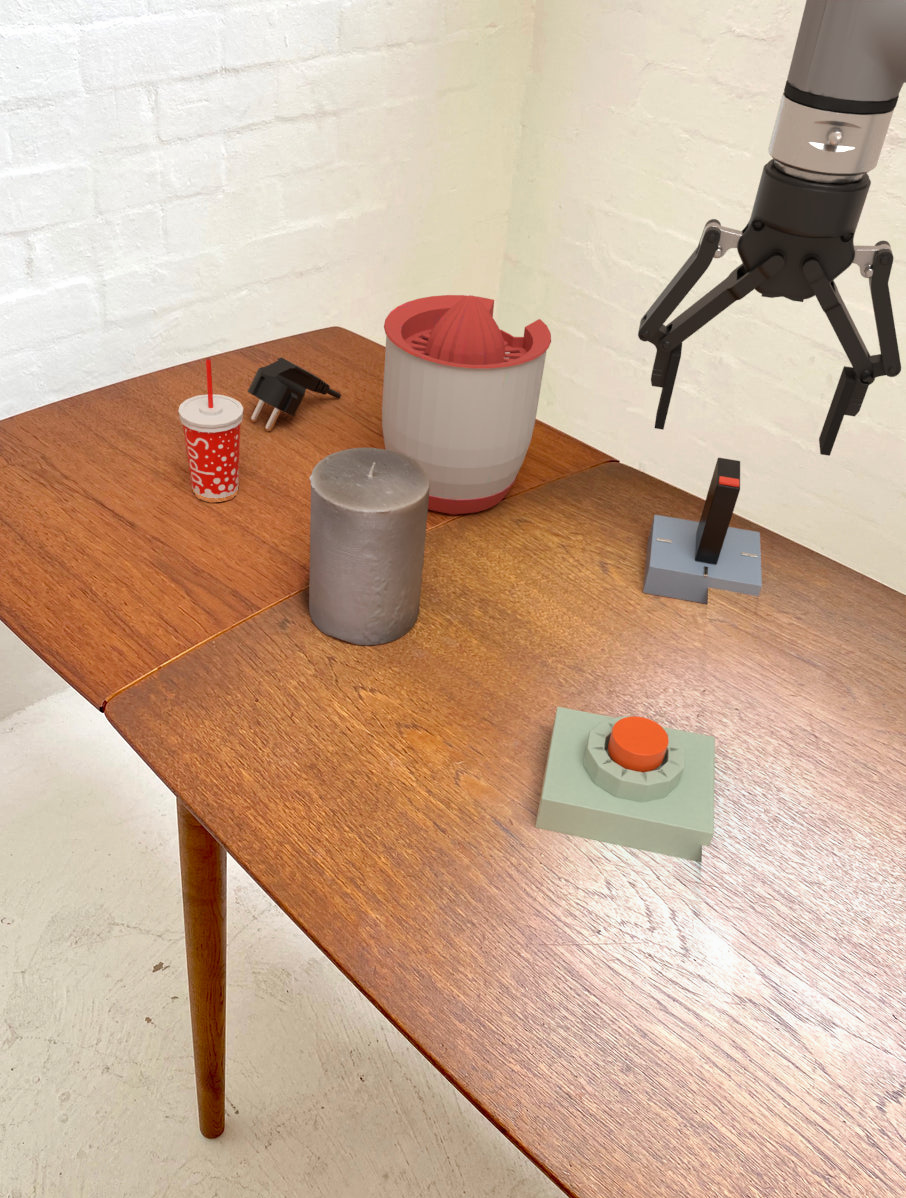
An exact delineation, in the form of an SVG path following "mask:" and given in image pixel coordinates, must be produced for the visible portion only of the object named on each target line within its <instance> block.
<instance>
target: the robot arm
mask: <svg viewBox="0 0 906 1198" xmlns="http://www.w3.org/2000/svg"><path fill="white" fill-rule="evenodd" d="M785 81H786V82H785V85H784V87H783V88H784V89H783V92H782V96H781V99H780V103H779V106H778V110H777V115H776V118H775V122H774V125H773V130H772V133H771V136H770V140H769V144H768V149H767V150H768V151H767V152H768V154H769V156H770V157H771V159H770V160H769V161H768V162H767V163H766V164H764V166H763V168H762V173H761V176H760V179H759V183H758V187H757V191H756V194H755V199H754V202H753V207H752V209H751V215H750V217H749V220H748V222H747V224H746V225H745V227H744V228H743V229H742V230H738V229H734V228H730V227H726V226H722V224H721V222H720V220H718V219H717V218H712V219H709V220H708V221H706V222H705V225H704V227H703V230H702V233H701V236H700V237H699V241H698V244H697V247H696V248H695V250H694V251H693V252H692V253H691V255H690V256H689V257H688V258H687V259H686V261H685V262H684V263H683V265H682V266H681V267H680V268H679V270H678V271H677V273H676V274H675V275H674V276H673V278H672V279H671V280H670V282H668V284H667V285H666V287H665V288H664V289H663V290H662V292H661V293H660V294H659V295H658V297H657V298H656V299H655V301H654V302H653V303H652V304H651V306H650V307H649V308H648V310H647V311H646V312H645V313H644V315H642V317H641V319H640V321H639V325H638V326H639V327H638V332H637V336H638V339H639V340H640V341H642V342H648V343H650V344H652V345H653V346H654V347H655V349H656V352H655V357H654V360H653V366H652V370H651V376H650V383H651V387H654V388H655V387H656V388H661V393H660V396H659V401H658V405H657V409H656V414H655V421H654V429H655V430H656V429H657V430H664V429H665V425H666V421H667V416H668V412H669V408H670V404H671V399H672V395H673V391H674V387H675V382H676V378H677V374H678V370H679V366H680V362H681V358H682V350H683V342H684V341H686V340H687V339H689V338H690V337H691V336H692V335H694V334H695V333H696V332H698V331H699V330H700V329H702V328H703V327H704V326H705V325H707V324H708V323H709V322H710V321H712V320H713V319H714V318H716V317H717V316H718V315H719V314H721V313H722V312H724V311H725V310H726V309H727V308H729V307H731V305H733V304H734V303H735V302H737V301H740V300H742V299H744V298H745V297H746V296H747V295H749V294H750V293H751V292H753V291H754V290H755V291H756V293H759V294H761V297H763V298H770V299H773V298H786V299H787V300H790V301H792V302H797V303H804V300H808V299H811V298H813V297H815V298H816V300H817V302H818V304H819V306H820V308H821V310H822V311H823V312H824V314H825V316H826V317H827V319H828V322H829V323H830V325H831V327H832V329H833V331H834V333H835V335H836V337H837V339H838V341H839V343H840V345H841V347H842V349H843V351H844V353H845V354H846V356H847V359H848V361H849V363H850V365H851V366H846V365H844V366H843V367H842V371H841V374H840V376H839V379H838V382H837V385H836V388H835V391H834V394H833V397H832V400H831V403H830V406H829V409H828V412H827V414H826V417H825V420H824V423H823V425H822V430H821V432H820V434H819V438H818V444H819V445H818V446H819V453H820V455H821V456H831V454H832V451H833V448H834V445H835V442H836V439H837V437H838V434H839V431H840V428H841V426H842V423H843V420H844V418H845V416H850V417H856V416H857V415H858V413H860V411H861V409H862V405H863V402H864V400H865V398H866V395H867V392H868V389H869V386H870V385H872V384H873V383H874V382H875V380H876V378H879V377H884V376H885V377H886V376H887V377H889V378H894V377H896V376H898V375H899V374H900V373H901V371H902V363H901V357H900V350H899V345H898V337H897V332H896V324H895V319H894V318H895V317H894V311H893V305H892V300H891V293H890V287H889V281H890V276H891V272H892V269H893V264H894V255H893V251H892V248H891V244H890V242H889V241H887V240H879V241H877V242H876V243H875V244H874V245H855V244H854V243H855V242H854V239H855V234H856V231H857V229H858V225H859V222H860V218H861V215H862V212H863V209H864V206H865V203H866V200H867V198H868V197H867V196H868V194H869V191H870V188H871V184H872V180H871V179H870V176H869V174H868V173H869V172H871V171H873V170H874V169H875V168H876V167H877V165H878V163H879V160H880V157H881V153H882V149H883V146H884V143H885V140H886V137H887V133H888V130H889V127H890V124H891V121H892V118H893V115H894V114H893V113H894V111H895V108H896V107H897V105H898V100H899V97H900V92H901V90H902V88H903V86H904V84H906V0H806V1H805V5H804V9H803V13H802V17H801V21H800V25H799V29H798V33H797V37H796V42H795V46H794V49H793V54H792V57H791V62H790V65H789V70H788V74H787V79H786V80H785ZM730 249H736V250H737V254H738V256H739V258H740V260H741V263H740V264H739V265H738V266H736V268H734V269H733V270H732V271H731V272H730V273H729V274H728V276H727V277H726V278H725V279H723V280H722V281H721V282H719V283H718V284H717V285H716V286H715V287H713V288H712V289H711V290H709V291H708V292H707V293H706V294H705V295H703V296H702V297H700V298H699V299H698V300H696V301H695V302H694V303H693V304H691V305H690V306H689V307H688V308H686V309H685V310H684V311H683V312H681V313H680V314H679V315H678V316H677V317H675V318H674V319H673V320H671V321H670V322H668V323H667V324H666V325H665V323H666V321H667V320H668V319H669V318H670V317H671V315H672V314H673V313H674V312H675V310H676V309H677V308H678V306H679V305H680V304H681V303H682V301H683V300H684V299H685V298H686V296H687V295H688V294H689V293H690V291H691V290H692V289H693V288H694V286H695V285H696V284H697V283H698V281H700V279H701V278H702V277H703V275H704V274H705V272H706V271H707V270H708V269H709V267H710V265H711V263H712V262H713V259H720V258H722V257H724V256H725V254H726V253H727V252H728V251H729V250H730ZM852 264H855V265H857V266H858V267H859V273H860V276H862V277H863V278H864V279H868V284H869V291H870V298H871V301H872V302H871V303H872V309H873V314H874V321H875V327H876V332H877V339H878V340H877V341H878V345H879V351H880V353H878V354H870V352H869V350H868V348H867V346H866V344H865V342H864V339H863V338H862V336H861V334H860V332H859V330H858V328H857V326H856V324H855V322H854V320H853V318H852V316H851V314H850V312H849V310H848V308H847V306H846V304H845V302H844V300H843V298H842V296H841V294H840V291H839V289H838V286H837V284H836V282H835V280H836V279H837V278H838V277H839V276H841V275H842V274H843V273H844V272H845V271H847V269H849V268H850V267H851V266H852Z"/></svg>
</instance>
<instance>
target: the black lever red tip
mask: <svg viewBox="0 0 906 1198" xmlns="http://www.w3.org/2000/svg"><path fill="white" fill-rule="evenodd" d="M712 473H713V474H712V477H711V481H710V484H709V487H708V489H707V490H708V491H707V495H706V497H705V501H704V505H703V508H702V512H701V514H700V518H699V521H698V522H699V525H698V528H697V532H696V549H695V561H699V562H705V563H710V564H717V562H718V559H719V556H720V553H721V549H722V546H723V543H724V540H725V536H726V533H727V530H728V527H730V523H731V521H732V517H733V513H734V511H735V507H736V504H737V501H738V498H739V496H740V495H739V494H740V491H741V460H736V459H731V458H724V457H717V459H716V463H715V467H714V470H713V472H712Z"/></svg>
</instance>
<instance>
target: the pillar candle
mask: <svg viewBox="0 0 906 1198" xmlns="http://www.w3.org/2000/svg"><path fill="white" fill-rule="evenodd" d="M308 480H309V481H310V519H309V520H310V524H309V525H310V527H309V536H310V537H309V582H308V585H309V587H308V589H309V590H308V591H309V593H308V610H309V611H308V612H309V616H310V618H311V621H312V622H313V624H314V626H315V627H316V628H317V629H318V631H320V632H321V633H323V634H325V635H326V636H329V637H333V638H335V639H338V640H341V641H343V642H347V643H350V644H354V645H357V646H378V645H383V644H388V643H391V642H393V641H396V640H398V639H400V638H402V637H403V636H405V635H407V633H409V632H410V631H411V629H412V628H413V627H414V625H415V624H416V622H417V620H418V617H419V613H420V602H421V601H420V600H421V591H422V583H423V582H422V581H423V580H422V579H423V569H424V562H425V547H426V535H427V524H428V512H429V509H428V501H429V489H430V481H429V477H428V474H427V472H426V471H425V469H424V467H422V466H421V465H420V464H419V463H417V462H416V461H414V460H413V459H411V458H410V457H407V456H405V455H403V454H400V453H397V452H393V451H390V450H386V449H384V448H377V447H353V448H347V449H343V450H339V451H337V452H334V453H333V452H332V453H331V454H329V455H326V456H325V457H324V458H322V459H321V460H319V461H318V463H316V464H315V466H314V467H313V469H312V471H311V475H310V476H309V478H308Z"/></svg>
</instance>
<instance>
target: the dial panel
mask: <svg viewBox="0 0 906 1198" xmlns="http://www.w3.org/2000/svg"><path fill="white" fill-rule="evenodd" d="M698 525H699V521H696V520H690V519H684V518H678V517H671V516H666V515H662V514H661V515H660V514H653V518H652V522H651V526H650V531H649V534H648V538H647V545H646V554H645V555H646V556H645V564H644V565H645V566H644V576H643V585H642V586H643V587H642V593H643V594H648V595H654V596H658V597H665V598H669V599H675V600H676V599H677V600H682V601H687V602H694V603H698V604H705V605H708V603H709V601H708V600H709V588H710V589H715V590H721V591H727V592H732V593H737V594H738V593H739V594H743V595H750V596H753V597H754V596H755V597H759V596H760V593H761V590H762V588H763V578H762V577H763V576H762V550H761V532H760V531H756V530H749V529H743V528H739V527H731V526H729V527H728V530H727V533H726V536H725V540H724V543H723V546H722V549H721V553H720V556H719V559H718V562H717V564H710V563H705V562H699V561H695V549H696V532H697V528H698Z"/></svg>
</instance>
